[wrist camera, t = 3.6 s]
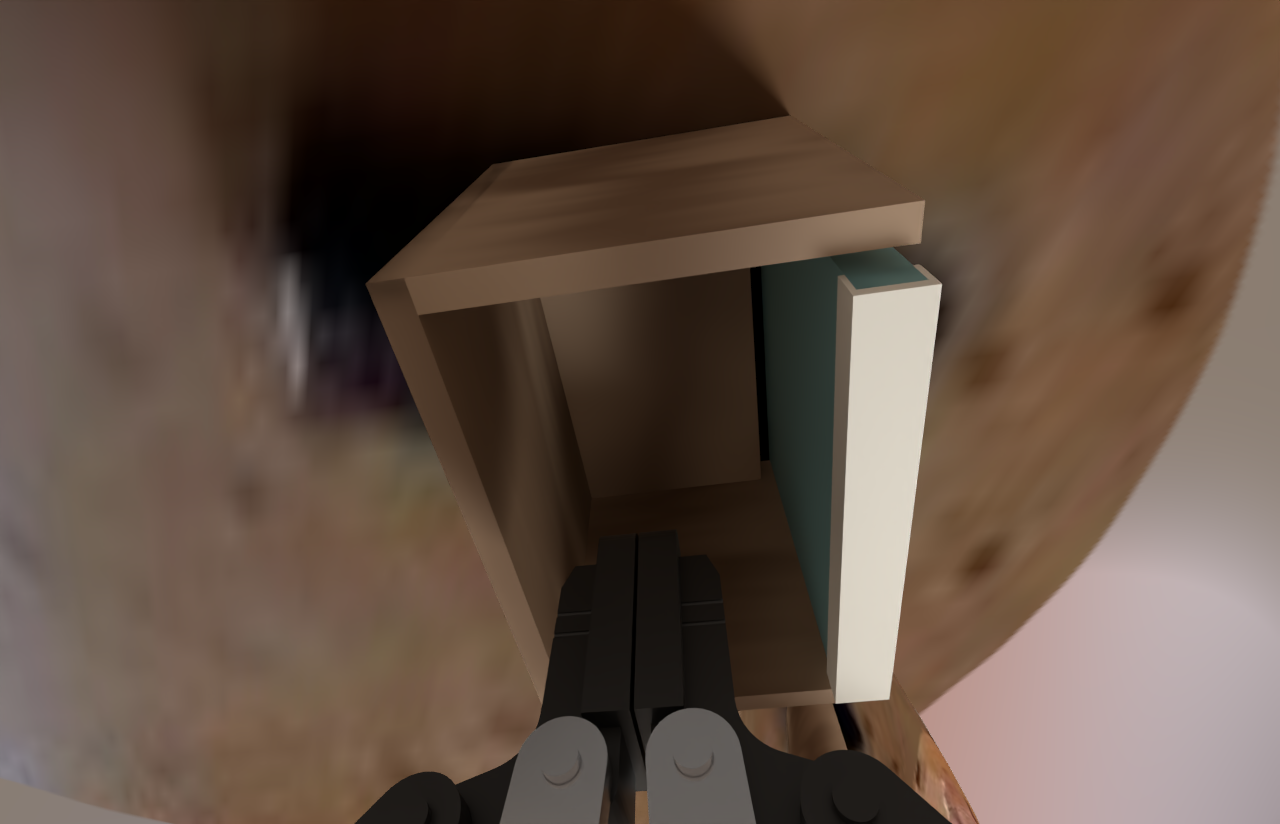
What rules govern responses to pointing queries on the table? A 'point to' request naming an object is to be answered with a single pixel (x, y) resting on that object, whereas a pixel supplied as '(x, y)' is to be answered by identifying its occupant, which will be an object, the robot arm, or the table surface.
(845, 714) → the beer glass
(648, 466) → the crate
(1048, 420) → the table surface
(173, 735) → the table surface
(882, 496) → the teal panel
